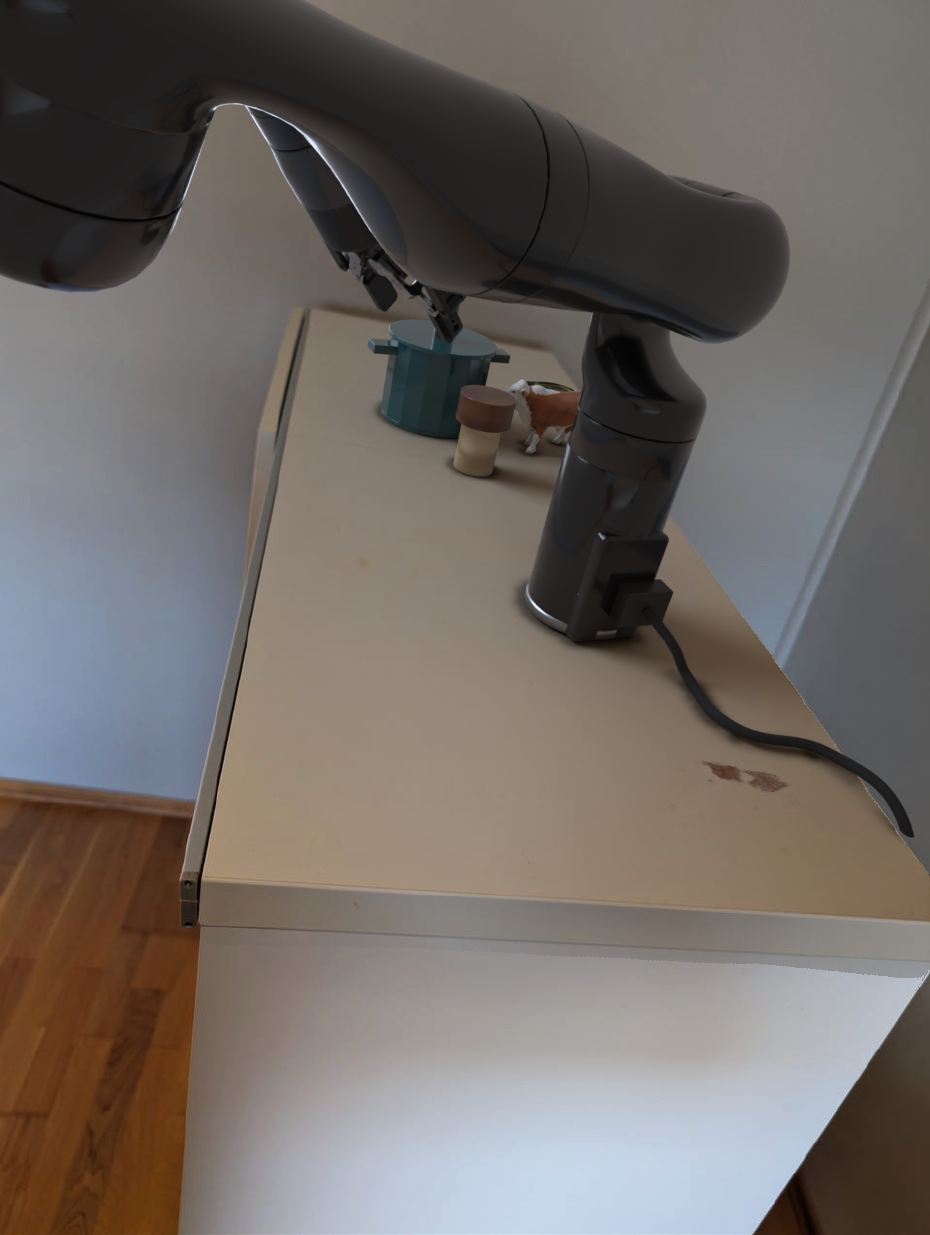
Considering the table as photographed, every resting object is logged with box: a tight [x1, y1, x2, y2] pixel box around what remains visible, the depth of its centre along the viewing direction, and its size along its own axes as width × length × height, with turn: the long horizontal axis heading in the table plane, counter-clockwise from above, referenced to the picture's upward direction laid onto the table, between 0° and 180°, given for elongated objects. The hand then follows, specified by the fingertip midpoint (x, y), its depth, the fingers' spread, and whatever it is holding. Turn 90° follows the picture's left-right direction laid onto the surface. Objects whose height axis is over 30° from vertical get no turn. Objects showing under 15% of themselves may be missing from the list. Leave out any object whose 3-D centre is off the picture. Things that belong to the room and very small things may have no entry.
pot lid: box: [387, 304, 498, 360], centre depth 99 cm, size 13×13×5 cm
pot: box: [367, 336, 511, 439], centre depth 103 cm, size 12×17×10 cm
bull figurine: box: [505, 378, 581, 455], centre depth 102 cm, size 4×13×8 cm, turn 115°
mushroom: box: [453, 385, 516, 478], centre depth 93 cm, size 6×6×8 cm
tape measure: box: [525, 380, 575, 392], centre depth 114 cm, size 7×7×4 cm
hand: (420, 319), depth 78 cm, fingers open, 8 cm apart
